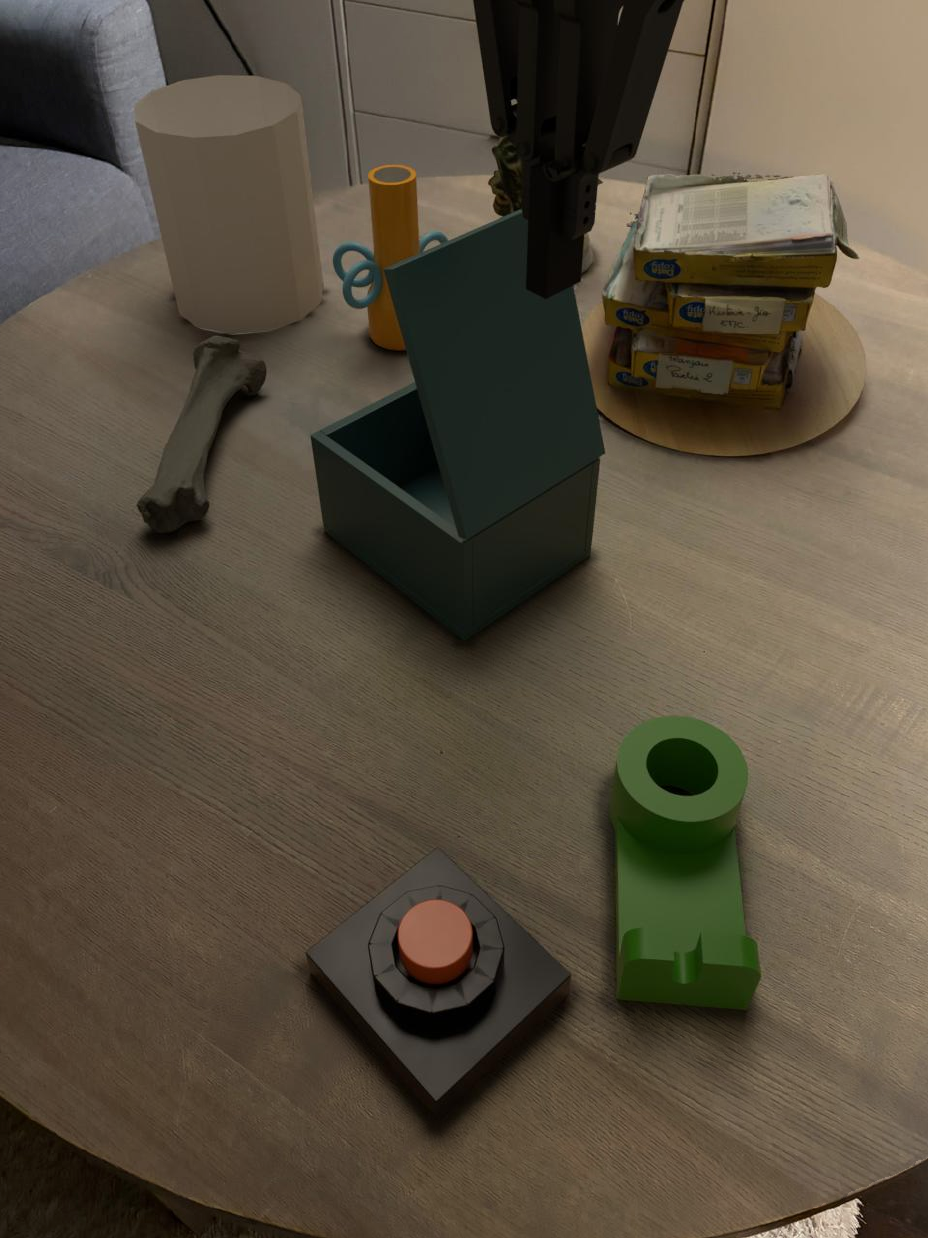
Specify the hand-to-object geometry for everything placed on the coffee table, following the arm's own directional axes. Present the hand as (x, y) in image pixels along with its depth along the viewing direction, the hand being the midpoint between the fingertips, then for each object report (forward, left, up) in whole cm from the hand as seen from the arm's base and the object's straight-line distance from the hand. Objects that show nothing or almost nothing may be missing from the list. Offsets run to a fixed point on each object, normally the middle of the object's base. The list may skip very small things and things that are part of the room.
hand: (553, 284), depth 56 cm
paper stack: (+9, -32, -24) cm, 41 cm away
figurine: (+35, -36, -24) cm, 56 cm away
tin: (+8, 0, -24) cm, 25 cm away
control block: (-16, +24, -24) cm, 37 cm away
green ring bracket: (-20, +10, -24) cm, 33 cm away
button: (-16, +24, -20) cm, 35 cm away
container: (+49, -10, -24) cm, 56 cm away
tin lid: (+4, 0, -7) cm, 8 cm away
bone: (+30, +7, -24) cm, 39 cm away
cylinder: (+33, -16, -24) cm, 44 cm away
